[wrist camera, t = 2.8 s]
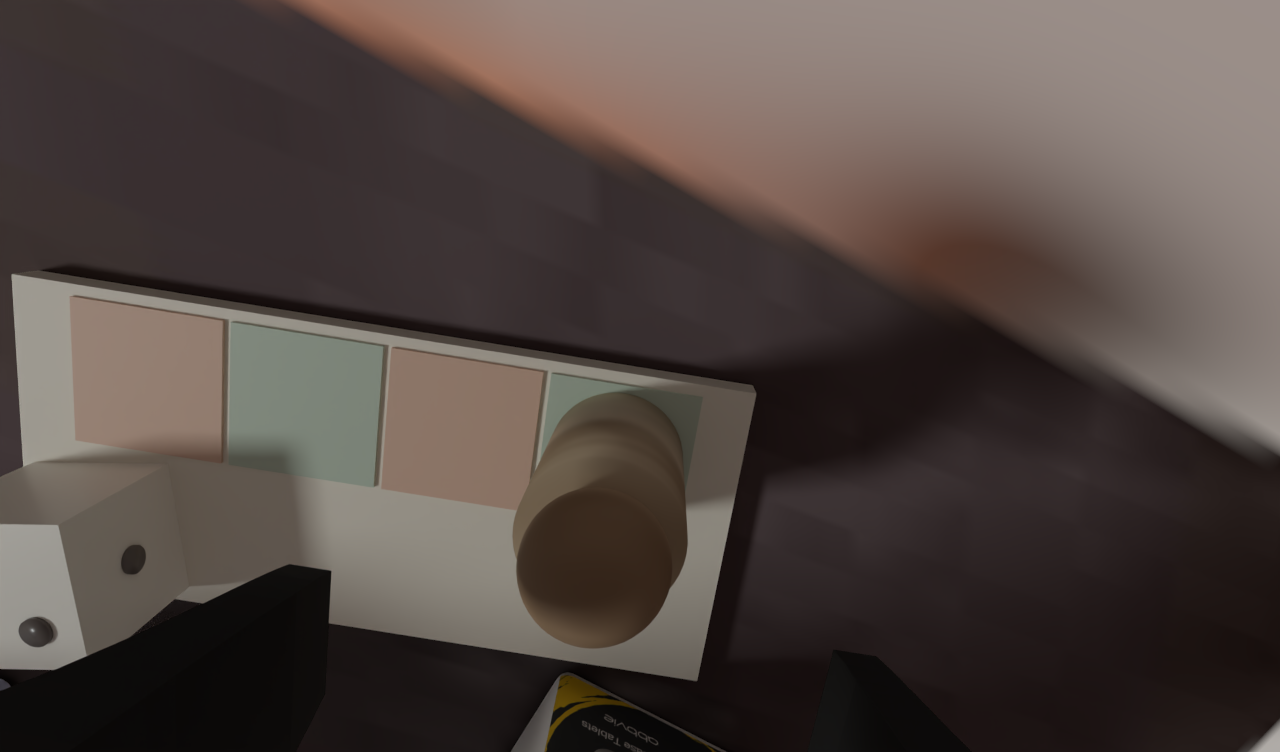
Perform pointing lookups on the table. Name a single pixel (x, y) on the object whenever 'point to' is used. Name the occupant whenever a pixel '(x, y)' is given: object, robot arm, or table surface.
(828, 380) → the table surface
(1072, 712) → the table surface
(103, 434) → the board
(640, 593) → the pawn
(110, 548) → the die
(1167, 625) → the table surface
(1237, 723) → the table surface
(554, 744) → the medicine bottle
